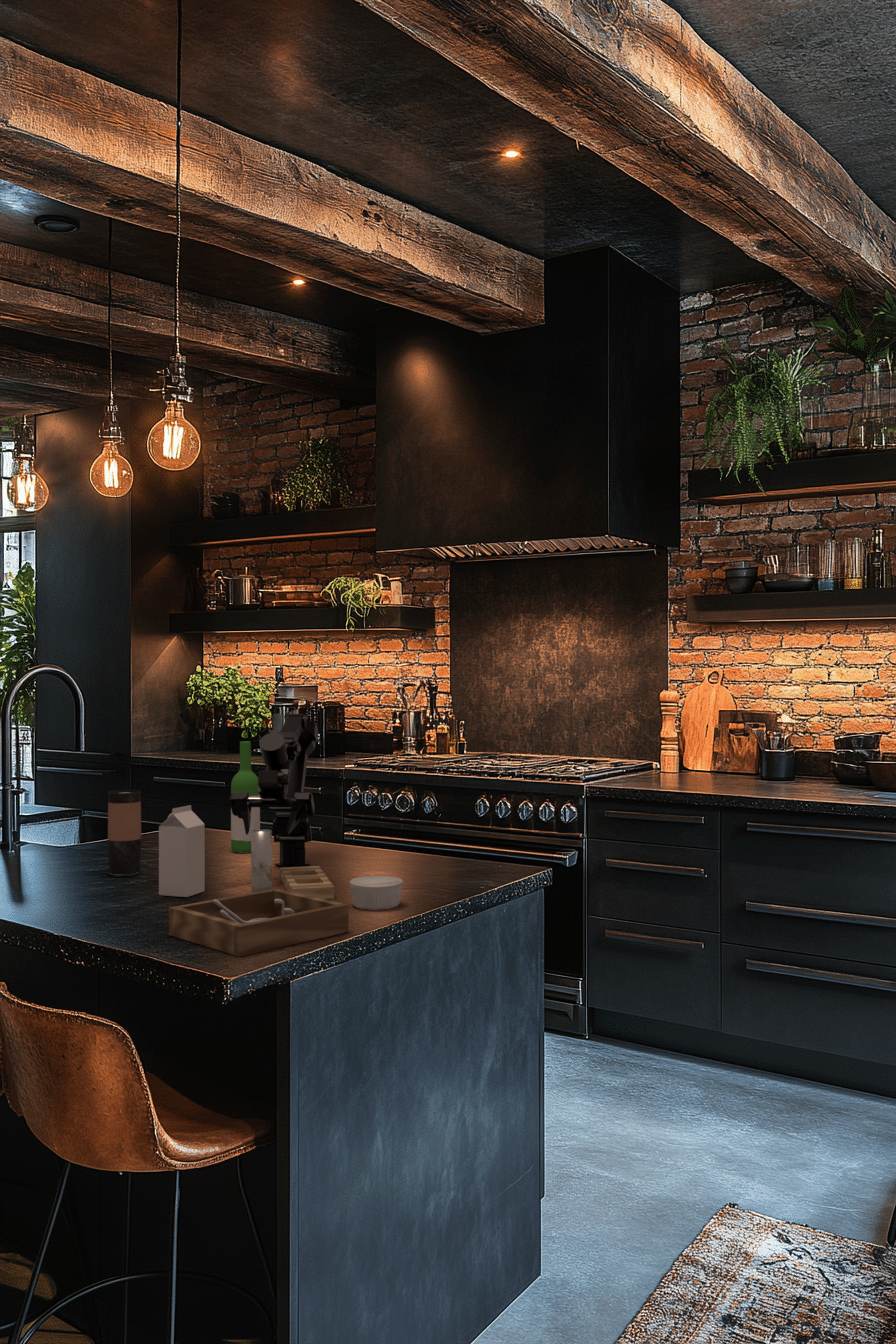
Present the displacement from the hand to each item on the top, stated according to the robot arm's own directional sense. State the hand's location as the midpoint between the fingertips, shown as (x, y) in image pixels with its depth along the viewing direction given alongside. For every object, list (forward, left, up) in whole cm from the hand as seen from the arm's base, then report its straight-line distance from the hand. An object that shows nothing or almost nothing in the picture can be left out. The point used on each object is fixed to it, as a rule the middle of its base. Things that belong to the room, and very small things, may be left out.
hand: (267, 833), depth 235 cm
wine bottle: (-47, +27, -13) cm, 56 cm away
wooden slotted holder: (+5, +7, -12) cm, 15 cm away
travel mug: (-40, -13, -13) cm, 44 cm away
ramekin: (+30, +5, -13) cm, 33 cm away
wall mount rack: (+30, -25, -13) cm, 41 cm away
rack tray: (+32, -26, -12) cm, 43 cm away
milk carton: (-10, -16, -13) cm, 22 cm away
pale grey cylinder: (+4, -5, -12) cm, 14 cm away
